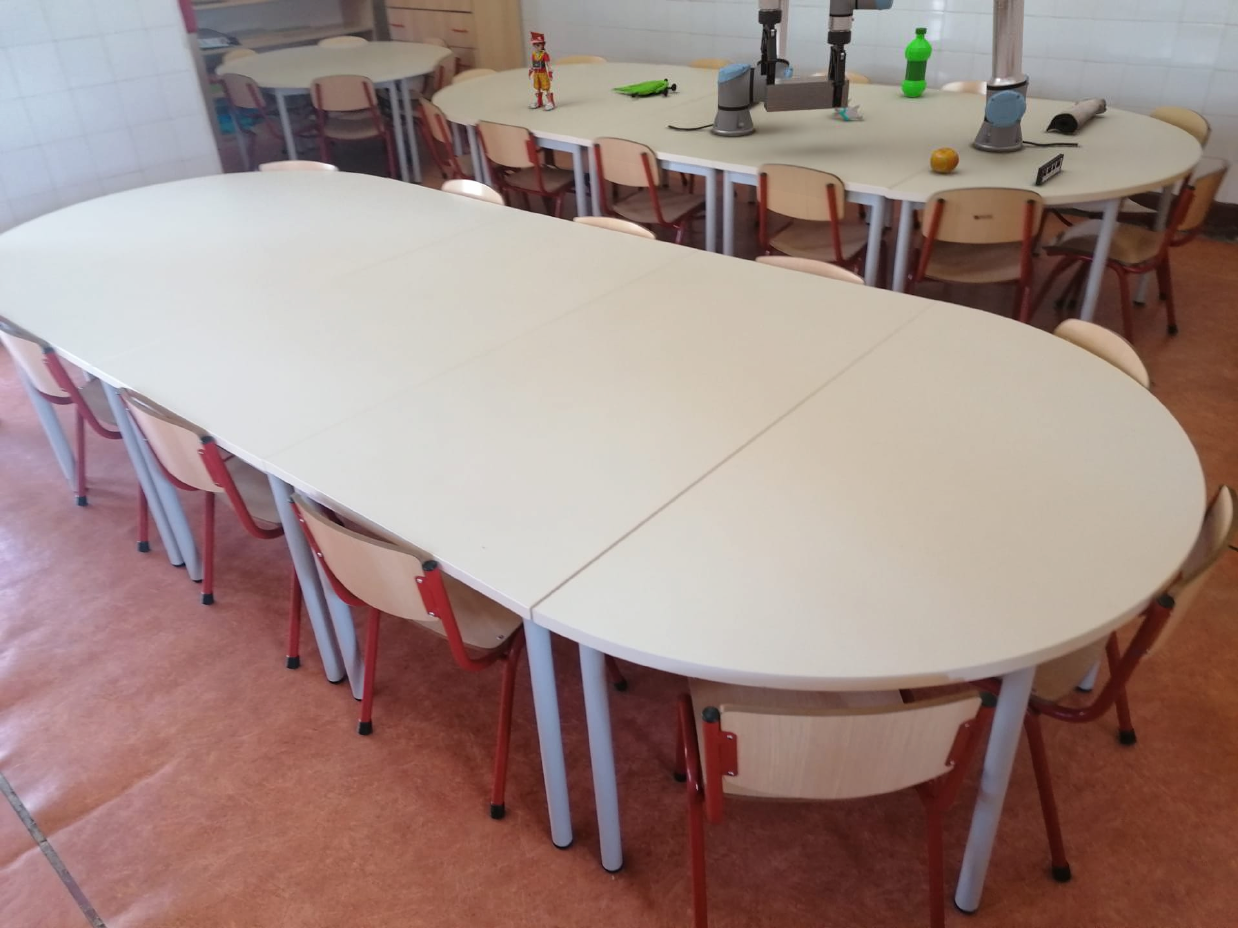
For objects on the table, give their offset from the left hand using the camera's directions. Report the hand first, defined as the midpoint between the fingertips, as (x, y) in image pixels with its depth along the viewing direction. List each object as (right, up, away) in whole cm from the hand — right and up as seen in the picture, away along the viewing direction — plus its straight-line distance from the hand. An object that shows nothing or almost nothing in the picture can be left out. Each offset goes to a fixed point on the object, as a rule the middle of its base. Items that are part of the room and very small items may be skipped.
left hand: (767, 80), depth 299 cm
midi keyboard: (+82, -40, -24) cm, 95 cm away
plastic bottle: (+71, +22, +68) cm, 100 cm away
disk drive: (+1, +19, +69) cm, 72 cm away
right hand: (+23, -6, +4) cm, 24 cm away
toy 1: (-82, +24, +84) cm, 120 cm away
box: (+13, -7, +4) cm, 16 cm away
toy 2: (-40, +37, +98) cm, 112 cm away
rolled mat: (+114, -6, +22) cm, 117 cm away
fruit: (+54, -35, -14) cm, 66 cm away
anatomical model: (+38, +6, +47) cm, 60 cm away
